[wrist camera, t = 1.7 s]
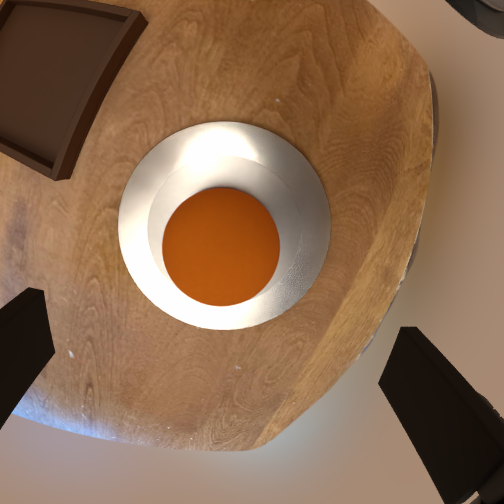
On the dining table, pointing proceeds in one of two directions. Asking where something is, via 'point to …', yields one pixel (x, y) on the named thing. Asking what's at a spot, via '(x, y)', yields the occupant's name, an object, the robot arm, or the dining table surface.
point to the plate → (233, 177)
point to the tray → (58, 75)
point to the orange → (221, 247)
